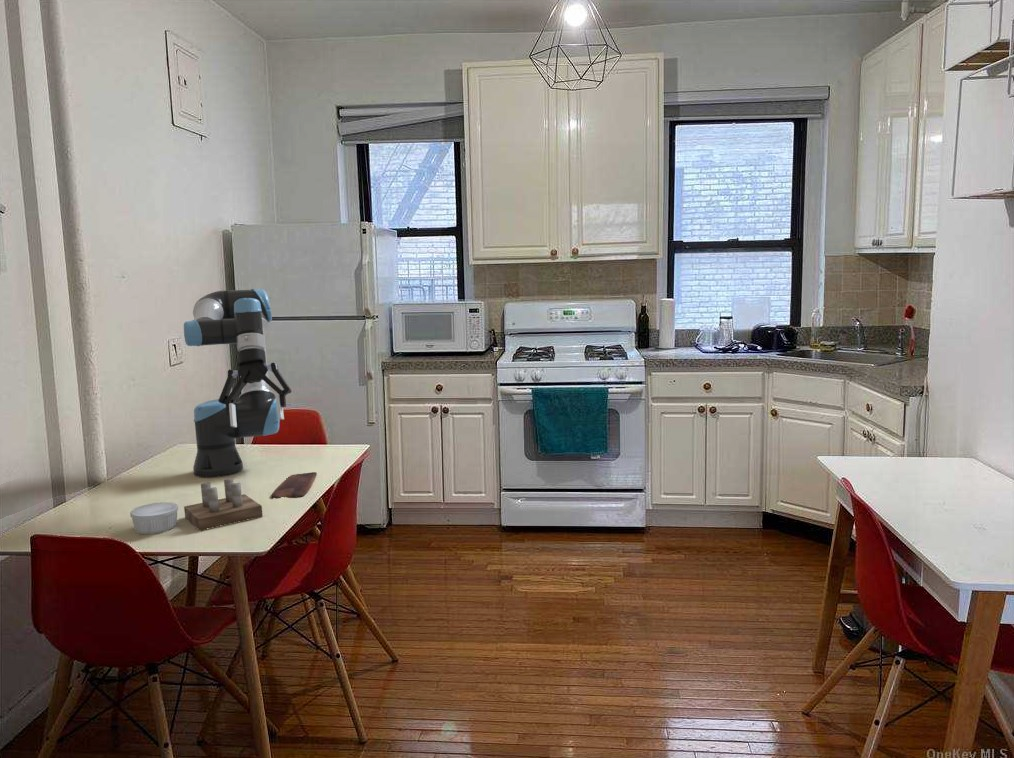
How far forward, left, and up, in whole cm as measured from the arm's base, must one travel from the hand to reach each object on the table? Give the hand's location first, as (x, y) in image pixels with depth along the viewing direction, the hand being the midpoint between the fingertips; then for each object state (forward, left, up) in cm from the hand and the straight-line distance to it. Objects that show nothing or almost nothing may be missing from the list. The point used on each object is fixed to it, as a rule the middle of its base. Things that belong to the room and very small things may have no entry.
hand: (257, 422), depth 218 cm
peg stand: (+11, -15, -22) cm, 28 cm away
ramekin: (+8, -31, -22) cm, 38 cm away
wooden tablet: (-5, +12, -22) cm, 26 cm away
